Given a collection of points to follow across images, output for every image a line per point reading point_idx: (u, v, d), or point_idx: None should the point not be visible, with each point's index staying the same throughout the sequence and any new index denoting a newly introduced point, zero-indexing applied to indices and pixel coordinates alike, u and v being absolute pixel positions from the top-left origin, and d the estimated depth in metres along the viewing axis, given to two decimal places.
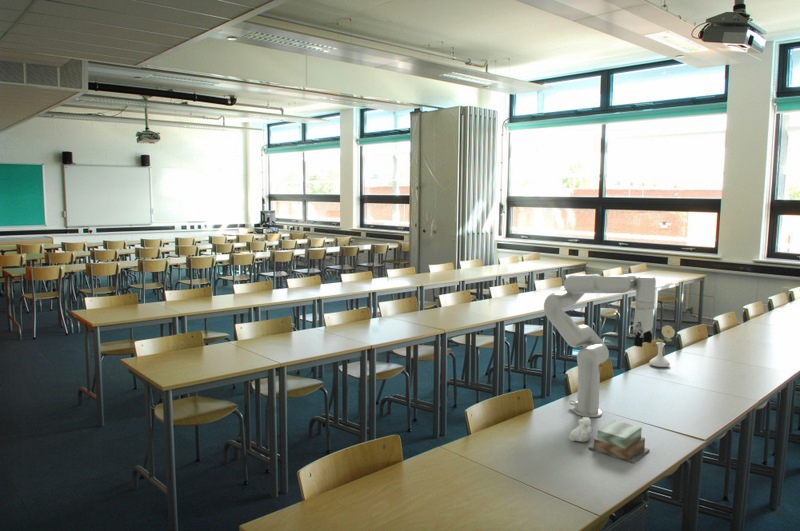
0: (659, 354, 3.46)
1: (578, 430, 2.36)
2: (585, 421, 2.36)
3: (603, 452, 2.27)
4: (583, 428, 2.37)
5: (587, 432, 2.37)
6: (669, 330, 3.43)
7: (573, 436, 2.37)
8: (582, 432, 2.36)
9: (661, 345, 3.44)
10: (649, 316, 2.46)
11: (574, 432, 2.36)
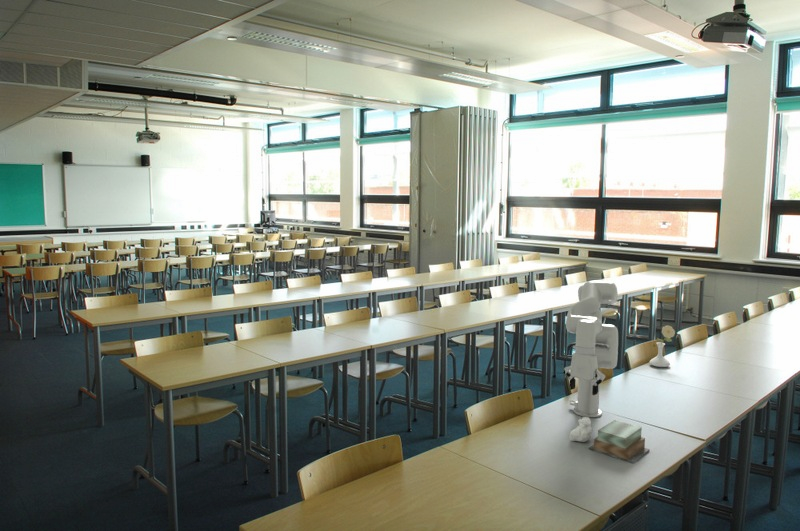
0: (659, 354, 3.46)
1: (578, 430, 2.36)
2: (585, 421, 2.36)
3: (603, 452, 2.27)
4: (583, 428, 2.37)
5: (587, 432, 2.37)
6: (669, 330, 3.43)
7: (573, 436, 2.37)
8: (582, 432, 2.36)
9: (661, 345, 3.44)
10: None
11: (574, 432, 2.36)
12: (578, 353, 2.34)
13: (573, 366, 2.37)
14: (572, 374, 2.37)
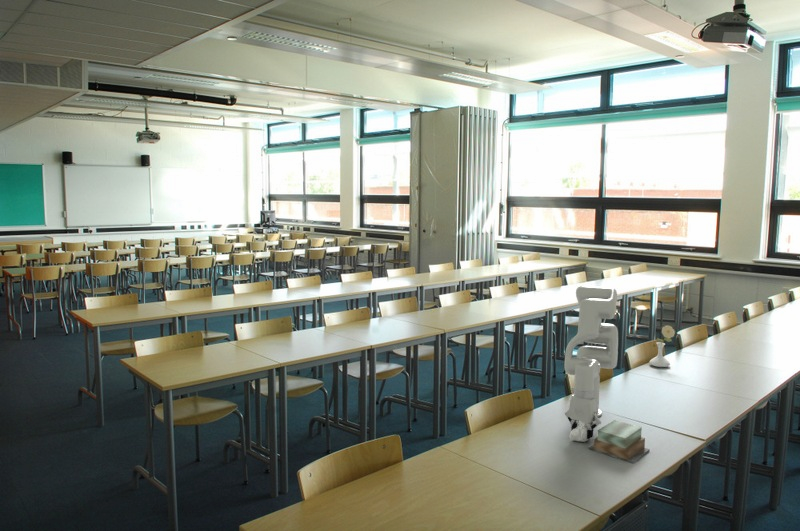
0: (659, 354, 3.46)
1: (578, 430, 2.36)
2: None
3: (603, 452, 2.27)
4: (583, 428, 2.37)
5: None
6: (669, 330, 3.43)
7: (573, 436, 2.37)
8: (582, 432, 2.36)
9: (661, 345, 3.44)
10: None
11: (574, 432, 2.36)
12: (576, 396, 2.36)
13: (572, 409, 2.39)
14: (571, 416, 2.39)
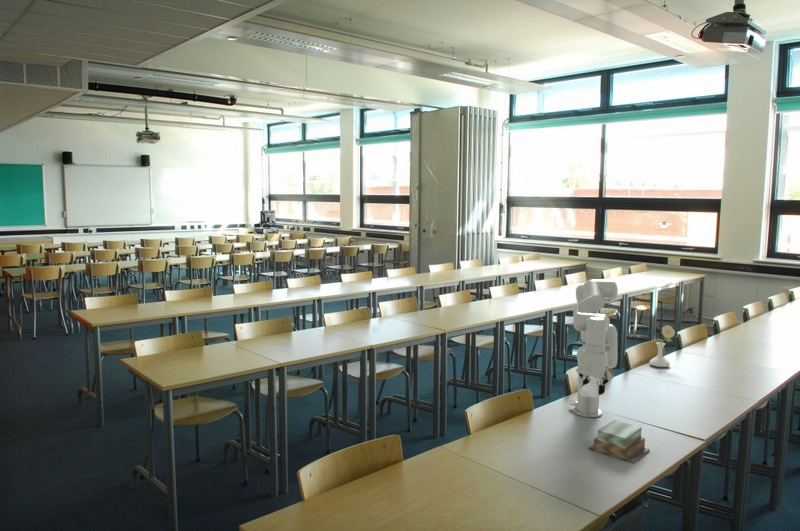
0: (659, 354, 3.46)
1: (589, 385, 2.32)
2: None
3: (603, 452, 2.27)
4: (594, 383, 2.33)
5: (598, 387, 2.32)
6: (669, 330, 3.43)
7: (584, 392, 2.32)
8: (593, 387, 2.32)
9: (661, 345, 3.44)
10: None
11: (585, 387, 2.32)
12: (588, 351, 2.31)
13: (583, 364, 2.34)
14: (582, 372, 2.35)
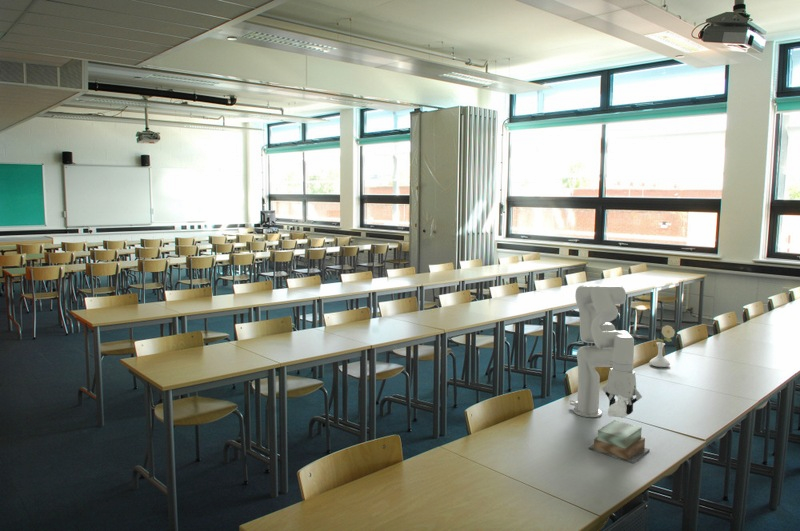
0: (659, 354, 3.46)
1: (617, 405, 2.25)
2: None
3: (603, 452, 2.27)
4: (622, 403, 2.26)
5: (626, 407, 2.26)
6: (669, 330, 3.43)
7: (611, 411, 2.26)
8: (621, 407, 2.25)
9: (661, 345, 3.44)
10: None
11: (613, 407, 2.25)
12: (616, 370, 2.25)
13: (610, 383, 2.28)
14: (609, 391, 2.28)
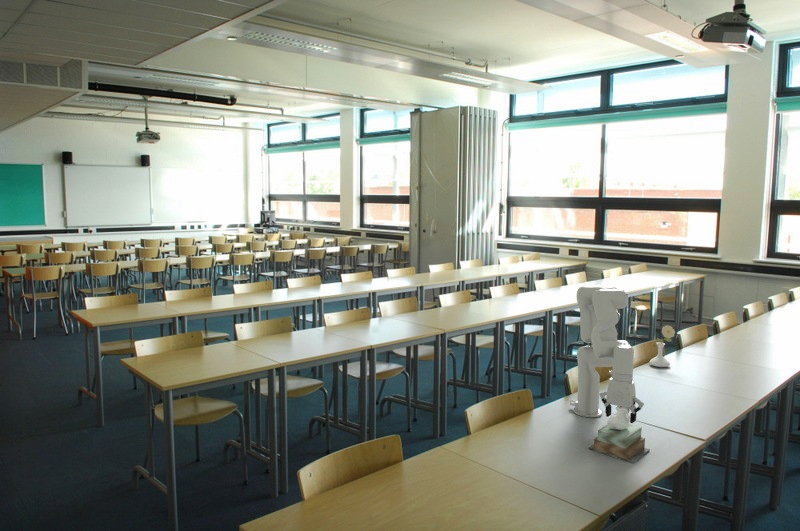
0: (659, 354, 3.46)
1: (616, 417, 2.26)
2: (624, 408, 2.26)
3: (603, 452, 2.27)
4: (621, 415, 2.27)
5: (626, 420, 2.26)
6: (669, 330, 3.43)
7: (610, 424, 2.27)
8: (620, 420, 2.26)
9: (661, 345, 3.44)
10: None
11: (612, 419, 2.26)
12: (615, 380, 2.25)
13: (610, 393, 2.28)
14: (608, 401, 2.29)
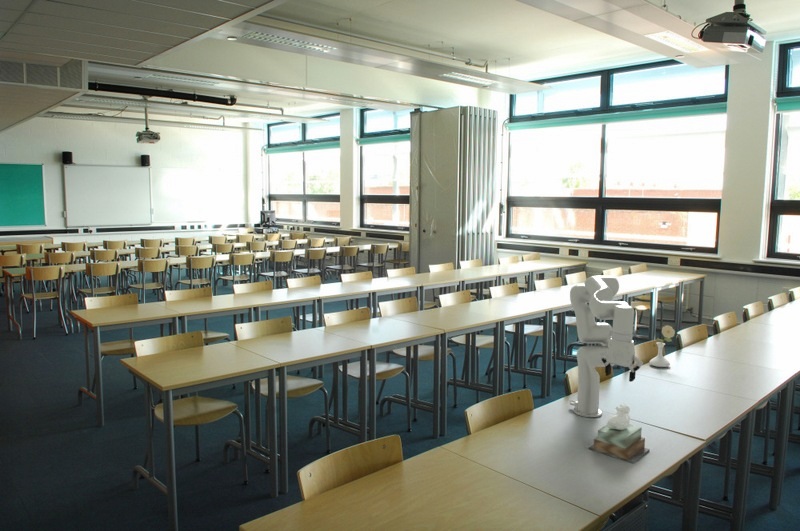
0: (659, 354, 3.46)
1: (616, 417, 2.26)
2: (624, 408, 2.26)
3: (603, 452, 2.27)
4: (621, 415, 2.27)
5: (626, 420, 2.26)
6: (669, 330, 3.43)
7: (610, 424, 2.27)
8: (620, 419, 2.26)
9: (661, 345, 3.44)
10: None
11: (612, 419, 2.26)
12: (615, 339, 2.30)
13: (609, 352, 2.33)
14: (608, 360, 2.33)
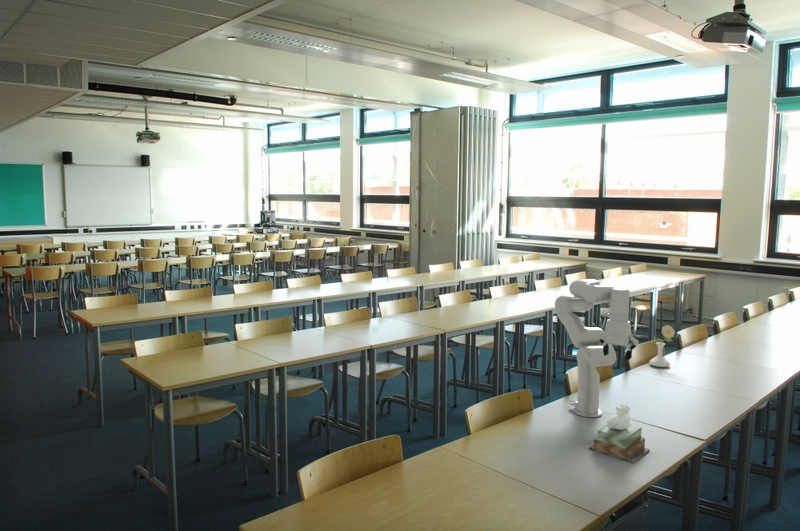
0: (659, 354, 3.46)
1: (616, 417, 2.26)
2: (624, 408, 2.26)
3: (603, 452, 2.27)
4: (621, 415, 2.27)
5: (626, 420, 2.26)
6: (669, 330, 3.43)
7: (610, 424, 2.27)
8: (620, 420, 2.26)
9: (661, 345, 3.44)
10: None
11: (612, 419, 2.26)
12: (612, 320, 2.43)
13: (607, 333, 2.46)
14: (606, 340, 2.46)
